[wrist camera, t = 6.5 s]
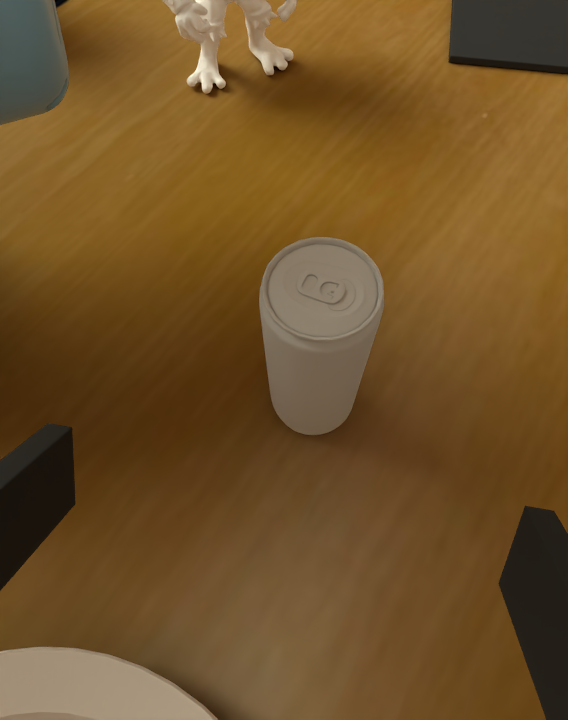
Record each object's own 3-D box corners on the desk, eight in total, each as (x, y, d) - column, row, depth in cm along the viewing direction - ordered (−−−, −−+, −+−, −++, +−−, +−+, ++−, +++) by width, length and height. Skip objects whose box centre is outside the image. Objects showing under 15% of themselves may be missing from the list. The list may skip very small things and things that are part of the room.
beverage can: (334, 451, 28) (361, 364, 17) (257, 418, 29) (235, 315, 18) (364, 378, 30) (405, 258, 19) (290, 349, 31) (289, 218, 20)
